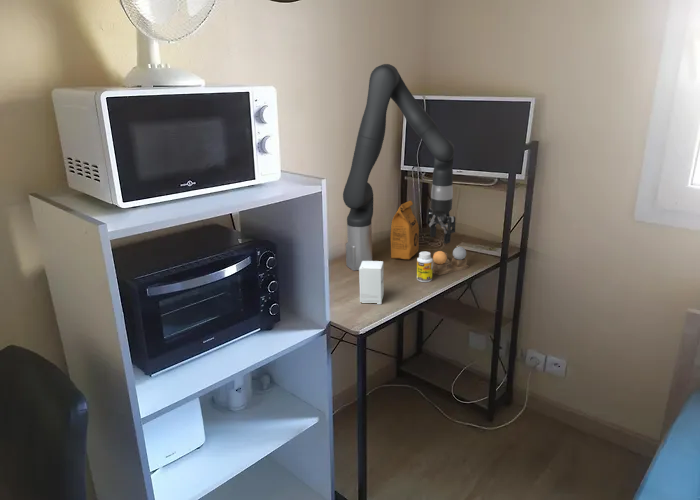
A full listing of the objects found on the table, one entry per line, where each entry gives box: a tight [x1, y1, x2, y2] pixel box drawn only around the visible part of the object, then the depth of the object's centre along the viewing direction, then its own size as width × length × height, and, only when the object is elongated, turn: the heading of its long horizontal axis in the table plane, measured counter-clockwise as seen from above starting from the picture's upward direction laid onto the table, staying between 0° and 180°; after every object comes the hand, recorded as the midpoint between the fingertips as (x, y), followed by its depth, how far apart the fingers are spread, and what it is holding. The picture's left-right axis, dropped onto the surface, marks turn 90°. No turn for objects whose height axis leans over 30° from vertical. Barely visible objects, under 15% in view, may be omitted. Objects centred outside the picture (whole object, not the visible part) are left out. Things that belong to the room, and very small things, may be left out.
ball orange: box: [432, 250, 448, 264], centre depth 201 cm, size 5×5×5 cm
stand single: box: [431, 251, 450, 264], centre depth 212 cm, size 5×5×4 cm
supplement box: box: [358, 260, 385, 305], centre depth 179 cm, size 7×7×13 cm
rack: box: [432, 257, 469, 276], centre depth 204 cm, size 14×5×4 cm, turn 117°
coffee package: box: [390, 200, 420, 260], centre depth 216 cm, size 10×12×22 cm
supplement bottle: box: [416, 251, 433, 283], centre depth 194 cm, size 6×6×10 cm
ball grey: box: [452, 246, 467, 260], centre depth 204 cm, size 5×5×5 cm
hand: (439, 239), depth 199 cm, fingers open, 8 cm apart
